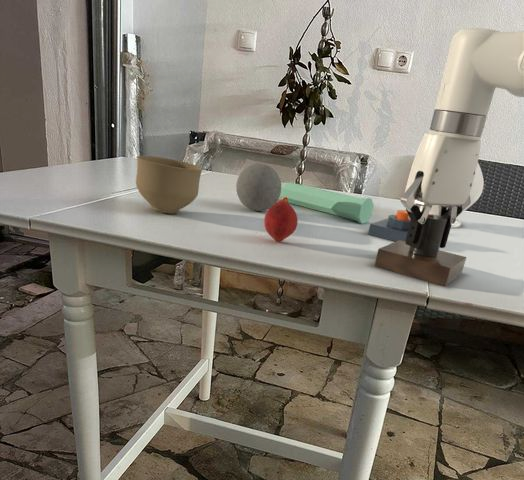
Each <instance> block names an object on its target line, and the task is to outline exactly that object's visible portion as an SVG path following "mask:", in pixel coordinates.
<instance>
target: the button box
mask: <svg viewBox="0 0 524 480" xmlns="http://www.w3.org/2000/svg"><path fill="white" fill-rule="evenodd" d="M396 215H397V214H390V215H388V216H387V218H385V219H380V220H378V221H375V222H371V223H369V227H368V233H367V235H368V236H373V237H378V238H381V239H385V240H388V241H393V242H396V241H399V240H401V241H406V237H407V233H408V229H409V225H410V221H406V220H401V219H397V218H396Z"/></svg>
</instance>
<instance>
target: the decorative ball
mask: <svg viewBox="0 0 524 480" xmlns="http://www.w3.org/2000/svg"><path fill="white" fill-rule="evenodd" d="M235 185H236V186H235V189H236V195H237V197H238V199H239V201H240V203H241V204H242V205H243V206H244V207H246V208H247V209H249V210H250V211H254V212H265V211H268V210H269V208H270V207H272V206H273V205H274V204H275V203H277V202H279V200H280V198H281V197H280V194H281V186H282V182H281V178H280V175H279V174H278V173H277V171H276V170H275V169H274V168H273V167H271V166H270V165H268V164H266V163H265V164H264V163H253V164H250V165H248V166H247V167H244V169H243V170H242V171H241V172H240V174H239V175H238V177H237V180H236V184H235Z"/></svg>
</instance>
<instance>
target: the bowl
mask: <svg viewBox="0 0 524 480" xmlns="http://www.w3.org/2000/svg"><path fill="white" fill-rule="evenodd" d="M136 160H137V165H136V166H137V169H136V177H135V178H136V179H135V186H136V188H137V191H138V192H139V194H140V195H141V196H142V198H143V199H144V200H145V201H146V202H147V203H148V204H149V205H150V207H151V209H152V210H153V211H155V212H159V213H162V214H171V215H172V214H178V213H179V212H180V211H181V210H183V209H184V208H185V207H187V206H188V205H190V204H192V203H194V201H195V199H196V198H197V197H198V195H199V190H200V181H201V176H202V175H201V174H202V172H203V168H202V167H201V166H199V165H196V164H194V163H189V162H186V161H181V160H176V159H172V158H167V157H161V156H152V155H137V156H136Z"/></svg>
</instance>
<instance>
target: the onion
mask: <svg viewBox="0 0 524 480" xmlns="http://www.w3.org/2000/svg"><path fill="white" fill-rule="evenodd" d="M298 222H299V221H298V215H297V213H296V211H295V209H294V207H293V206H292V205H291V203H288V198H287V197H282V198H281V197H280V198H279V200H278V201H277V202H276V203H275V204H274V205H273V206H272V207H270V208H269V209H267V210H266V213H265V215H264V229H265V231H266V232H267V234H268V235H269V236H270V238H272V239H273V240H274V241H275V242H276V243H282V242H283V241H284V240H286V239H287V238H289V237H290V236H291V235H292V234H294V232H295V231H296V230H297V227H298Z"/></svg>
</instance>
